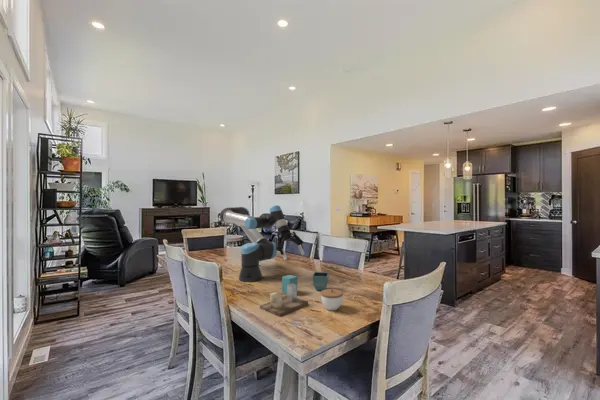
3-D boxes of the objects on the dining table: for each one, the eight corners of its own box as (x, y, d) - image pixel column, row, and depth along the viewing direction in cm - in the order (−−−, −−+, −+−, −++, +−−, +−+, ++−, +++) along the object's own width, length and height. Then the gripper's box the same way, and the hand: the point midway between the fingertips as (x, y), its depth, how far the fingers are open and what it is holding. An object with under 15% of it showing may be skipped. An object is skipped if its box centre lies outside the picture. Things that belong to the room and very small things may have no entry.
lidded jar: (319, 304, 148) (319, 286, 148) (340, 303, 149) (340, 285, 149) (322, 312, 137) (322, 292, 137) (345, 311, 138) (345, 292, 138)
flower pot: (327, 292, 167) (327, 276, 167) (312, 291, 168) (312, 275, 168) (329, 287, 175) (328, 272, 175) (314, 286, 177) (314, 271, 177)
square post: (287, 303, 149) (286, 285, 149) (292, 301, 152) (291, 283, 152) (292, 305, 147) (291, 286, 147) (297, 303, 150) (296, 284, 150)
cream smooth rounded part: (268, 309, 141) (267, 294, 141) (276, 306, 145) (276, 291, 145) (276, 312, 138) (275, 297, 137) (284, 309, 142) (284, 294, 142)
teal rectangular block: (282, 292, 167) (281, 276, 167) (289, 289, 171) (289, 274, 171) (289, 294, 162) (289, 278, 162) (297, 292, 167) (297, 276, 167)
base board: (259, 308, 143) (259, 305, 143) (288, 298, 158) (288, 295, 158) (279, 316, 133) (279, 313, 133) (308, 304, 148) (308, 301, 148)
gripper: (268, 227, 182) (280, 259, 175) (300, 221, 197) (312, 250, 189) (264, 232, 188) (275, 263, 180) (295, 226, 203) (307, 254, 195)
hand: (294, 256), depth 185 cm, fingers open, 13 cm apart
